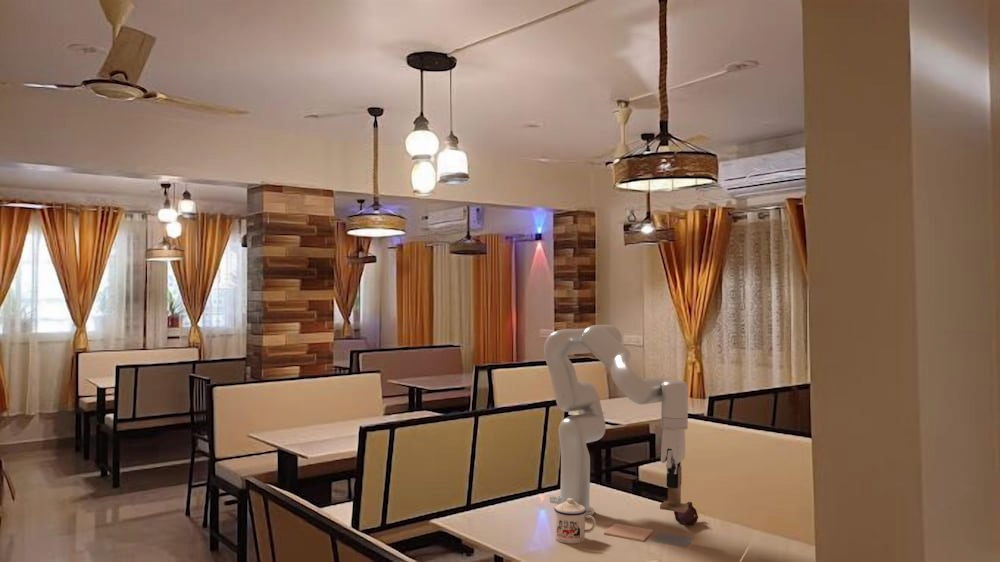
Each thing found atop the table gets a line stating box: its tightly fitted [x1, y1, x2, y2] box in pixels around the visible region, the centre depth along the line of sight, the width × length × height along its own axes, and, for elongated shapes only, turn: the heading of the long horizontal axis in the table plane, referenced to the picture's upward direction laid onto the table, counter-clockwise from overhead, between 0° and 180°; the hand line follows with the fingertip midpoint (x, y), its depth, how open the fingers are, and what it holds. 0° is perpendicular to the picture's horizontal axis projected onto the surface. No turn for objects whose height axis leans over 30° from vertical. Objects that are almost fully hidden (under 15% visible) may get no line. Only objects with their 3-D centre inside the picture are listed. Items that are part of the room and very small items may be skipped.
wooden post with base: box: [659, 465, 688, 513], centre depth 209 cm, size 7×5×12 cm
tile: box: [603, 523, 654, 542], centre depth 214 cm, size 12×2×10 cm
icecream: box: [673, 501, 699, 526], centre depth 224 cm, size 7×7×15 cm
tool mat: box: [651, 531, 694, 548], centre depth 209 cm, size 10×9×1 cm
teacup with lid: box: [554, 498, 597, 545], centre depth 209 cm, size 12×9×12 cm
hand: (674, 485), depth 209 cm, fingers closed on wooden post with base, 3 cm apart
